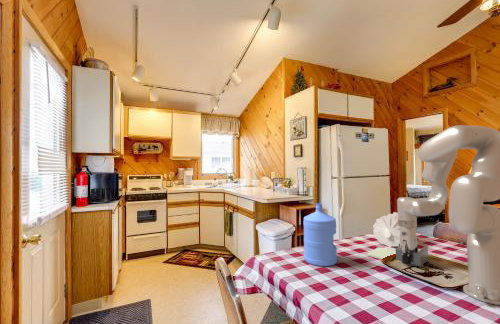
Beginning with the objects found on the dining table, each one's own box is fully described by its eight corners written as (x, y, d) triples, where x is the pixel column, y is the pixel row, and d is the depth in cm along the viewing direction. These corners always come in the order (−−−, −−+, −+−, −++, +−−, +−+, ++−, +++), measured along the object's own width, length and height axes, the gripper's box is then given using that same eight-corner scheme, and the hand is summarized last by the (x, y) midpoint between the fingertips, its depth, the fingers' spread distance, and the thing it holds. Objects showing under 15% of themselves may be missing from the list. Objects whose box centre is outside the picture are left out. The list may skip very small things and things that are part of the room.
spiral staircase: (379, 253, 139) (393, 241, 156) (411, 246, 127) (422, 234, 144) (363, 222, 145) (379, 215, 162) (392, 213, 133) (405, 206, 150)
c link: (420, 267, 108) (420, 254, 108) (396, 261, 115) (395, 249, 116) (428, 259, 118) (427, 247, 118) (404, 254, 125) (404, 242, 125)
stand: (419, 260, 117) (418, 239, 117) (408, 257, 120) (407, 238, 120) (421, 257, 120) (420, 238, 120) (411, 255, 123) (410, 236, 123)
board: (390, 261, 116) (390, 259, 116) (366, 255, 124) (366, 254, 124) (400, 253, 126) (400, 251, 126) (378, 248, 135) (378, 247, 135)
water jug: (314, 268, 108) (313, 206, 109) (298, 256, 123) (297, 202, 124) (344, 264, 112) (342, 204, 113) (325, 253, 127) (323, 201, 128)
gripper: (411, 228, 105) (413, 269, 104) (421, 222, 116) (422, 259, 116) (392, 225, 110) (393, 265, 109) (403, 219, 122) (405, 255, 121)
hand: (408, 261), depth 113 cm, fingers open, 6 cm apart
